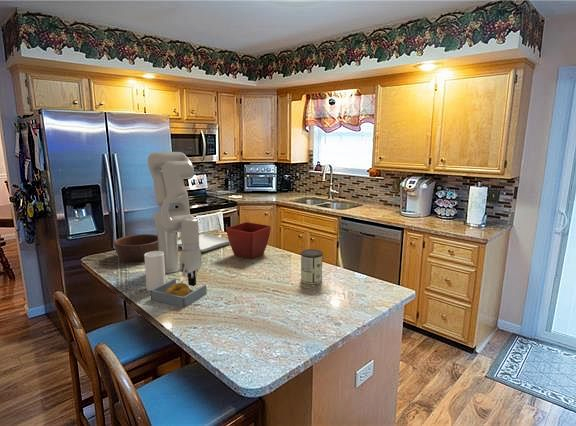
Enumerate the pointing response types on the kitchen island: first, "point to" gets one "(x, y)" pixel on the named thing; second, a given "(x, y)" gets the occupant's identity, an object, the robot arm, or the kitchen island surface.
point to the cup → (154, 269)
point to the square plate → (209, 242)
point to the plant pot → (248, 239)
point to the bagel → (179, 289)
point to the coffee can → (311, 266)
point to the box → (161, 296)
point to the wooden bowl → (135, 247)
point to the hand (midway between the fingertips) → (192, 285)
